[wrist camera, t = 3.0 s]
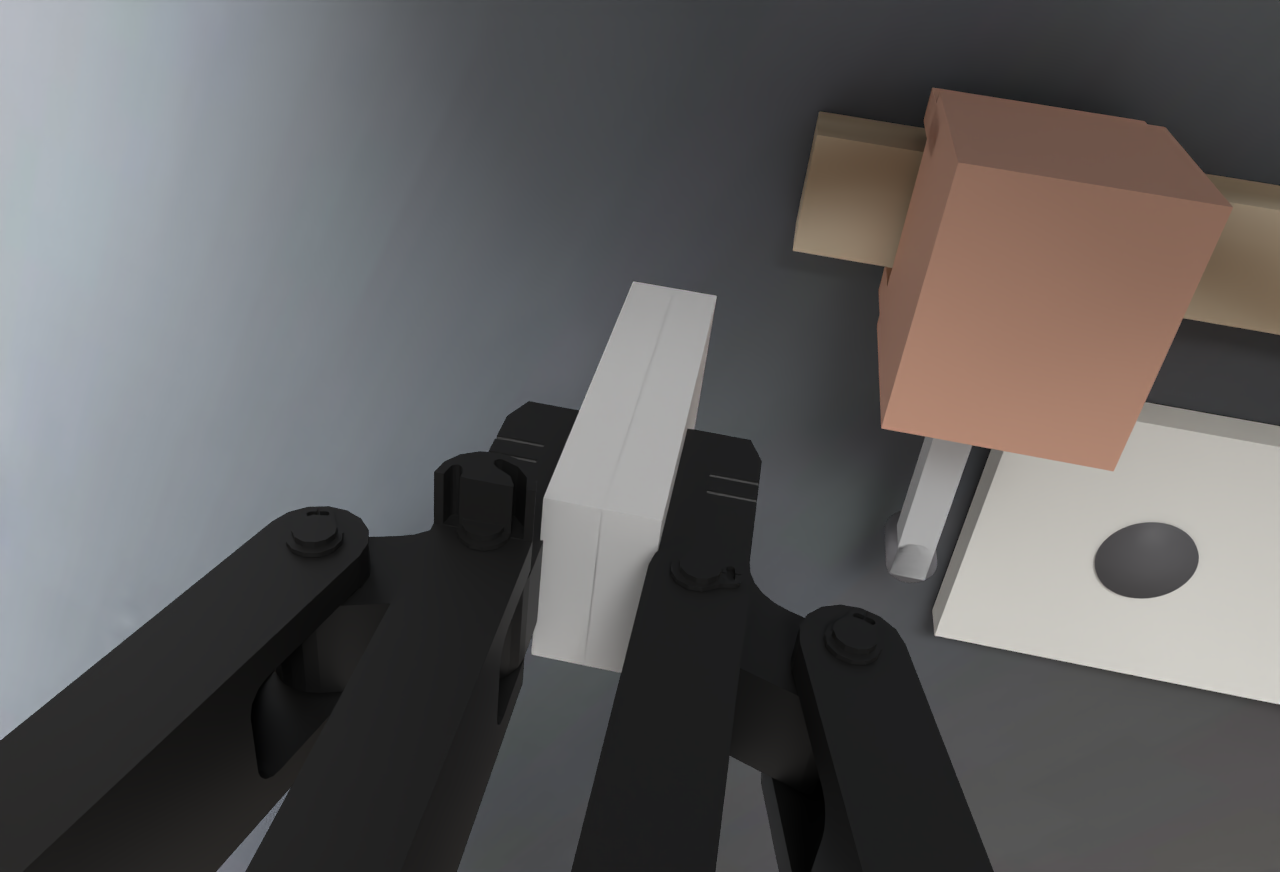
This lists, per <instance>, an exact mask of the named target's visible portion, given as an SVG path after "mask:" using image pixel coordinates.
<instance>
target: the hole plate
mask: <svg viewBox="0 0 1280 872" xmlns="http://www.w3.org/2000/svg"><path fill="white" fill-rule="evenodd" d="M932 614H933V624H934V635H935V636H940V637H945V638H950V639H955V640H960V641H965V642H970V643H975V644H980V645H985V646H990V647H995V648H1000V649H1005V650H1010V651H1015V652H1020V653H1025V654H1030V655H1035V656H1040V657H1045V658H1050V659H1055V660H1060V661H1065V662H1070V663H1075V664H1080V665H1085V666H1090V667H1095V668H1100V669H1105V670H1110V671H1115V672H1120V673H1125V674H1130V675H1135V676H1140V677H1145V678H1150V679H1155V680H1160V681H1165V682H1170V683H1175V684H1180V685H1185V686H1190V687H1195V688H1200V689H1205V690H1210V691H1215V692H1220V693H1225V694H1230V695H1235V696H1240V697H1245V698H1250V699H1255V700H1260V701H1265V702H1270V703H1275V704H1280V426H1276V425H1270V424H1264V423H1259V422H1253V421H1248V420H1242V419H1237V418H1231V417H1225V416H1220V415H1214V414H1209V413H1203V412H1198V411H1192V410H1186V409H1181V408H1175V407H1170V406H1164V405H1159V404H1153V403H1147V402H1145V403H1144V405H1143V408H1142V410H1141V412H1140V414H1139V416H1138V419H1137V421H1136V423H1135V425H1134V428H1133V430H1132V432H1131V434H1130V436H1129V439H1128V441H1127V443H1126V445H1125V447H1124V450H1123V452H1122V454H1121V456H1120V458H1119V461H1118V463H1117V465H1116V467H1115V469H1114V471H1109V470H1103V469H1098V468H1093V467H1087V466H1082V465H1076V464H1071V463H1066V462H1060V461H1055V460H1049V459H1044V458H1039V457H1033V456H1028V455H1022V454H1017V453H1011V452H1006V451H1001V450H995V449H991V451H990V454H989V457H988V459H987V462H986V465H985V467H984V470H983V473H982V476H981V478H980V481H979V484H978V487H977V489H976V492H975V495H974V497H973V500H972V503H971V506H970V508H969V511H968V514H967V517H966V519H965V522H964V525H963V528H962V530H961V533H960V536H959V538H958V541H957V544H956V547H955V549H954V552H953V555H952V558H951V560H950V563H949V566H948V568H947V571H946V574H945V577H944V579H943V582H942V585H941V588H940V590H939V593H938V596H937V599H936V601H935V604H934V607H933V609H932Z"/></svg>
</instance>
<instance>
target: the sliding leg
mask: <svg viewBox="0 0 1280 872" xmlns="http://www.w3.org/2000/svg"><path fill="white" fill-rule="evenodd" d="M923 121H924V126H925V131H926V136H927V141H926V145H925V148H924V152H923V156H922V160H921V163H920V167H919V171H918V175H917V178H916V182H915V186H914V189H913V193H912V197H911V201H910V204H909V208H908V212H907V215H906V219H905V223H904V227H903V230H902V234H901V238H900V241H899V245H898V249H897V253H896V256H895V260H894V264H893V267H892V268H890V267H885V268H884V271H883V275H882V279H881V283H880V287H879V290H878V291H879V311H880V316H879V319H878V323H877V339H878V363H879V387H880V410H881V428H882V429H887V430H893V431H898V432H903V433H909V434H914V435H920V436H925V439H924V442H923V445H922V448H921V451H920V455H919V458H918V461H917V464H916V467H915V470H914V473H913V476H912V480H911V483H910V486H909V489H908V492H907V495H906V498H905V501H904V504H903V508H902V511H899V512H897V513H895V514H893V515H892V516H891V517H889V519H888V520H887V522H886V524H885V552H886V567H887V570H888V572H889V574H891V575H892V576H893V577H894V578H896V579H897V580H899V581H902V582H907V583H916V582H921V581H924V580H926V579H928V578H929V577H931V576H932V575H933V574H934V572H935V571H936V568H937V555H936V547H937V544H938V541H939V538H940V535H941V533H942V530H943V527H944V524H945V521H946V518H947V516H948V513H949V510H950V507H951V504H952V501H953V499H954V496H955V493H956V490H957V487H958V484H959V482H960V479H961V476H962V473H963V470H964V467H965V465H966V462H967V459H968V456H969V453H970V450H971V448H972V445H974V446H979V447H984V448H990V449H995V450H1001V451H1006V452H1011V453H1017V454H1022V455H1028V456H1033V457H1039V458H1044V459H1049V460H1055V461H1060V462H1066V463H1071V464H1076V465H1082V466H1087V467H1093V468H1098V469H1103V470H1109V471H1114V469H1115V467H1116V465H1117V463H1118V461H1119V458H1120V456H1121V454H1122V452H1123V450H1124V447H1125V445H1126V443H1127V441H1128V439H1129V436H1130V434H1131V432H1132V430H1133V428H1134V425H1135V423H1136V421H1137V419H1138V416H1139V414H1140V412H1141V410H1142V408H1143V405H1144V403H1145V401H1146V399H1147V397H1148V394H1149V392H1150V390H1151V388H1152V386H1153V383H1154V381H1155V379H1156V377H1157V375H1158V372H1159V370H1160V368H1161V366H1162V364H1163V361H1164V359H1165V357H1166V355H1167V352H1168V350H1169V348H1170V346H1171V344H1172V341H1173V339H1174V337H1175V335H1176V333H1177V330H1178V328H1179V326H1180V324H1181V322H1182V319H1183V317H1184V315H1185V313H1186V311H1187V308H1188V306H1189V304H1190V302H1191V300H1192V297H1193V295H1194V293H1195V291H1196V289H1197V286H1198V284H1199V282H1200V280H1201V277H1202V275H1203V273H1204V271H1205V269H1206V266H1207V264H1208V262H1209V260H1210V258H1211V255H1212V253H1213V251H1214V249H1215V247H1216V244H1217V242H1218V240H1219V238H1220V236H1221V233H1222V231H1223V229H1224V227H1225V225H1226V222H1227V220H1228V218H1229V216H1230V213H1231V211H1232V209H1233V207H1232V205H1231V204H1230V203H1229V202H1228V201H1227V199H1226V198H1225V197H1224V196H1223V195H1222V194H1221V192H1220V191H1219V190H1218V189H1217V188H1216V186H1215V185H1214V184H1213V183H1212V182H1211V180H1210V179H1209V178H1208V177H1207V176H1206V175H1205V173H1204V172H1203V171H1202V170H1201V169H1200V167H1199V166H1198V165H1197V164H1196V163H1195V162H1194V160H1193V159H1192V158H1191V157H1190V156H1189V154H1188V153H1187V152H1186V151H1185V150H1184V149H1183V147H1182V146H1181V145H1180V144H1179V143H1178V141H1177V140H1176V139H1175V138H1174V137H1173V136H1172V134H1171V133H1170V132H1169V131H1168V130H1167V128H1166V127H1161V126H1155V125H1149V124H1147V123H1146V122H1145V121H1141V120H1135V119H1128V118H1122V117H1116V116H1109V115H1103V114H1097V113H1091V112H1084V111H1078V110H1072V109H1065V108H1059V107H1053V106H1046V105H1040V104H1034V103H1027V102H1021V101H1015V100H1008V99H1002V98H996V97H989V96H983V95H977V94H971V93H964V92H958V91H952V90H945V89H939V88H933V87H932V90H931V94H930V97H929V101H928V105H927V109H926V113H925V116H924V120H923Z"/></svg>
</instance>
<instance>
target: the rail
mask: <svg viewBox="0 0 1280 872" xmlns="http://www.w3.org/2000/svg"><path fill="white" fill-rule="evenodd" d="M926 141H927V136H926V131H925V128H920V127H914V126H907V125H901V124H895V123H889V122H883V121H877V120H870V119H864V118H858V117H852V116H846V115H839V114H833V113H827V112H821V111H819V114H818V119H817V124H816V128H815V133H814V138H813V143H812V148H811V153H810V157H809V162H808V167H807V172H806V177H805V182H804V186H803V191H802V196H801V201H800V206H799V211H798V215H797V220H796V227H795V236H794V244H793V251H797V252H803V253H809V254H814V255H820V256H826V257H832V258H838V259H843V260H849V261H855V262H861V263H867V264H872V265H878V266H884V267H890V268H892V267H893V264H894V260H895V256H896V253H897V249H898V245H899V241H900V238H901V234H902V230H903V227H904V223H905V219H906V215H907V212H908V208H909V204H910V201H911V197H912V193H913V189H914V186H915V182H916V178H917V175H918V171H919V167H920V163H921V160H922V156H923V152H924V148H925V145H926ZM1205 175H1206V176H1207V177H1208V178H1209V179H1210V180H1211V182H1212V183H1213V184H1214V185H1215V186H1216V188H1217V189H1218V190H1219V191H1220V192H1221V194H1222V195H1223V196H1224V197H1225V198H1226V199H1227V201H1228V202H1229V203H1230V204H1231V205H1232V207H1233V209H1232V211H1231V213H1230V216H1229V218H1228V220H1227V222H1226V225H1225V227H1224V229H1223V231H1222V233H1221V236H1220V238H1219V240H1218V242H1217V244H1216V247H1215V249H1214V251H1213V253H1212V255H1211V258H1210V260H1209V262H1208V264H1207V266H1206V269H1205V271H1204V273H1203V275H1202V277H1201V280H1200V282H1199V284H1198V286H1197V289H1196V291H1195V293H1194V295H1193V297H1192V300H1191V302H1190V304H1189V306H1188V308H1187V311H1186V313H1185V315H1184V317H1183V318H1185V319H1191V320H1197V321H1203V322H1208V323H1214V324H1220V325H1226V326H1231V327H1237V328H1243V329H1249V330H1255V331H1260V332H1266V333H1272V334H1278V335H1280V186H1279V185H1273V184H1266V183H1260V182H1254V181H1248V180H1242V179H1235V178H1229V177H1223V176H1217V175H1211V174H1205Z"/></svg>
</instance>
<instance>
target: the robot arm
mask: <svg viewBox="0 0 1280 872" xmlns="http://www.w3.org/2000/svg"><path fill="white" fill-rule="evenodd" d="M716 298H717V296H715V295H709V294H703V293H698V292H692V291H686V290H681V289H675V288H669V287H664V286H658V285H652V284H646V283H641V282H635V281H633V283H632V285H631V288H630V290H629V292H628V295H627V297H626V300H625V302H624V304H623V307H622V309H621V312H620V314H619V316H618V319H617V321H616V324H615V326H614V329H613V331H612V333H611V336H610V338H609V341H608V343H607V345H606V348H605V350H604V353H603V355H602V357H601V360H600V362H599V365H598V367H597V370H596V372H595V374H594V377H593V379H592V382H591V384H590V386H589V389H588V391H587V394H586V396H585V399H584V401H583V403H582V406H581V408H580V411H579V410H573V409H568V408H562V407H557V406H552V405H546V404H541V403H535V402H530V401H529V402H527V403H526V404H524V405H523V406H521V407H520V408H518V409H517V410H515V411H514V412H512V413H511V414H509V415H508V416H507V417H506V419H505V421H504V423H503V425H502V427H501V429H500V431H499V433H498V435H497V439H495V440H494V442H493V444H492V446H491V448H490V450H489V452H473V453H467V454H460V455H458V456H456V457H454V458H451V459H449V460H447V461H445V462H444V463H443V464H442V465H441V466H440V467H439V468H438V469H437V470H436V471H435V472H434V524H433V526H432V528H431V530H430V531H426V532H422V533H419V534H415V535H405V536H388V537H369V530H368V529H367V527H366V526H365V524H364V523H363V521H362V519H361V518H359V517H357V516H355V515H354V514H352V513H350V512H349V511H347V510H342V509H338V508H334V507H329V506H326V507H306V508H302V509H298V510H295V511H291V512H288V513H286V514H284V515H283V516H281V517H279V518H277V519H276V520H274V521H272V522H271V523H270V524H268V525H267V526H266V527H265V528H263V529H262V530H261V531H260V532H258V533H257V534H256V535H255V536H254V537H252V538H251V539H250V540H249V541H247V542H246V543H245V544H244V545H242V546H241V547H240V548H239V549H237V550H236V551H235V552H234V553H232V554H231V555H230V556H229V557H227V558H226V559H225V560H224V561H222V562H221V563H220V564H219V565H218V566H216V567H215V568H214V569H213V570H211V571H210V572H209V573H208V574H206V575H205V576H204V577H203V578H201V579H200V580H199V581H198V582H196V583H195V584H194V585H193V586H191V587H190V588H189V589H188V590H187V591H185V592H184V593H183V594H182V595H180V596H179V597H178V598H177V599H175V600H174V601H173V602H172V603H170V604H169V605H168V606H167V607H165V608H164V609H163V610H162V611H160V612H159V613H158V614H157V615H155V616H154V617H153V618H152V619H151V620H149V621H148V622H147V623H146V624H144V625H143V626H142V627H141V628H139V629H138V630H137V631H136V632H134V633H133V634H132V635H131V636H129V637H128V638H127V639H126V640H124V641H123V642H122V643H121V644H120V645H118V646H117V647H116V648H115V649H113V650H112V651H111V652H110V653H108V654H107V655H106V656H105V657H103V658H102V659H101V660H100V661H98V662H97V663H96V664H95V665H93V666H92V667H91V668H90V669H88V670H87V671H86V672H85V673H84V674H82V675H81V676H80V677H79V678H77V679H76V680H75V681H74V682H72V683H71V684H70V685H69V686H67V687H66V688H65V689H64V690H62V691H61V692H60V693H59V694H57V695H56V696H55V697H54V698H53V699H51V700H50V701H49V702H48V703H46V704H45V705H44V706H43V707H41V708H40V709H39V710H38V711H36V712H35V713H34V714H33V715H31V716H30V717H29V718H28V719H26V720H25V721H24V722H23V723H21V724H20V725H19V726H18V727H17V728H15V729H14V730H13V731H12V732H10V733H9V734H8V735H7V736H5V737H4V738H3V739H2V740H0V872H216V871H217V870H218V869H219V868H220V867H221V866H222V864H223V863H224V862H225V861H226V860H227V859H228V858H229V856H230V855H231V854H232V853H233V852H234V851H235V850H236V849H237V847H238V846H239V845H240V844H241V843H242V842H243V841H244V839H245V838H246V837H247V836H248V835H249V834H250V833H251V832H252V830H253V829H254V828H255V827H256V826H257V825H258V824H259V823H260V821H261V820H262V819H263V818H264V817H265V816H266V815H267V813H268V812H269V811H270V810H271V809H272V808H273V807H274V806H275V804H276V803H277V802H278V801H279V800H280V799H281V798H282V797H283V795H284V794H285V793H286V792H287V791H288V790H289V789H290V787H291V786H292V787H291V789H290V790H289V792H288V794H287V796H286V798H285V800H284V801H283V803H282V805H281V807H280V809H279V811H278V813H277V814H276V816H275V818H274V820H273V822H272V824H271V826H270V827H269V829H268V831H267V833H266V835H265V837H264V838H263V840H262V842H261V844H260V846H259V848H258V850H257V851H256V853H255V855H254V857H253V859H252V861H251V863H250V864H249V866H248V868H247V870H246V872H457V869H458V867H459V864H460V861H461V858H462V855H463V852H464V849H465V846H466V844H467V841H468V838H469V835H470V832H471V829H472V826H473V824H474V821H475V818H476V815H477V812H478V809H479V806H480V804H481V801H482V798H483V795H484V792H485V789H486V786H487V783H488V781H489V778H490V775H491V772H492V769H493V766H494V763H495V761H496V758H497V755H498V752H499V749H500V746H501V743H502V740H503V738H504V735H505V732H506V729H507V726H508V723H509V720H510V718H511V715H512V712H513V709H514V706H515V703H516V700H517V698H518V695H519V692H520V689H521V686H522V682H523V669H524V657H525V654H526V651H527V648H528V645H529V643H530V640H531V637H532V634H533V640H532V654H531V655H536V656H541V657H546V658H551V659H556V660H561V661H565V662H570V663H575V664H580V665H585V666H590V667H595V668H600V669H605V670H609V671H614V672H619V673H621V676H620V680H619V684H618V688H617V692H616V696H615V700H614V704H613V708H612V712H611V716H610V719H609V723H608V727H607V731H606V735H605V739H604V743H603V747H602V751H601V755H600V759H599V763H598V767H597V771H596V775H595V779H594V783H593V787H592V791H591V795H590V799H589V803H588V807H587V811H586V815H585V819H584V823H583V827H582V831H581V835H580V839H579V843H578V847H577V850H576V854H575V858H574V862H573V866H572V870H571V872H715V870H716V862H717V853H718V845H719V837H720V829H721V820H722V812H723V804H724V796H725V787H726V779H727V771H728V763H729V755H730V756H732V757H734V758H735V759H737V760H739V761H741V762H743V763H745V764H747V765H749V766H751V767H753V768H755V769H757V770H759V771H761V784H762V789H763V794H764V799H765V804H766V809H767V814H768V819H769V824H770V829H771V834H772V839H773V844H774V849H775V854H776V859H777V864H778V869H779V872H994V871H993V869H992V866H991V863H990V861H989V858H988V856H987V853H986V851H985V848H984V845H983V843H982V840H981V838H980V835H979V833H978V830H977V827H976V825H975V822H974V820H973V817H972V815H971V812H970V809H969V807H968V804H967V802H966V799H965V796H964V794H963V791H962V789H961V786H960V784H959V781H958V778H957V776H956V773H955V771H954V768H953V766H952V763H951V760H950V758H949V755H948V753H947V750H946V748H945V745H944V742H943V740H942V737H941V735H940V732H939V730H938V727H937V724H936V722H935V719H934V717H933V714H932V712H931V709H930V706H929V704H928V701H927V699H926V696H925V693H924V691H923V688H922V686H921V683H920V681H919V678H918V675H917V673H916V670H915V668H914V665H913V663H912V660H911V657H910V655H909V652H908V650H907V647H906V645H905V643H904V641H903V640H902V638H901V637H900V635H899V634H898V632H897V631H896V629H895V628H893V627H892V626H891V625H890V624H888V623H887V622H886V621H885V620H883V619H882V618H881V617H879V616H877V615H875V614H873V613H870V612H868V611H866V610H864V609H861V608H856V607H851V606H845V605H834V606H825V607H821V608H819V609H817V610H815V611H813V612H811V613H809V614H807V616H806V617H805V618H803V617H801V616H799V615H797V614H795V613H792V612H790V611H788V610H786V609H784V608H783V607H781V606H779V605H777V604H775V603H774V602H773V601H771V600H770V599H769V598H768V597H766V596H765V595H764V594H763V593H762V592H761V591H760V589H759V588H758V587H757V586H756V584H755V583H754V581H753V578H752V576H751V573H750V563H749V562H750V554H751V546H752V537H753V529H754V521H755V512H756V504H757V503H756V502H757V496H758V488H759V479H760V471H761V463H762V461H761V459H760V457H759V455H758V453H757V451H756V449H755V447H754V446H753V444H752V442H751V440H747V439H742V438H736V437H731V436H726V435H720V434H715V433H709V432H704V431H699V430H694V428H695V423H696V417H697V411H698V405H699V399H700V393H701V387H702V381H703V375H704V369H705V364H706V358H707V352H708V346H709V340H710V334H711V328H712V322H713V316H714V310H715V304H716Z"/></svg>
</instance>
